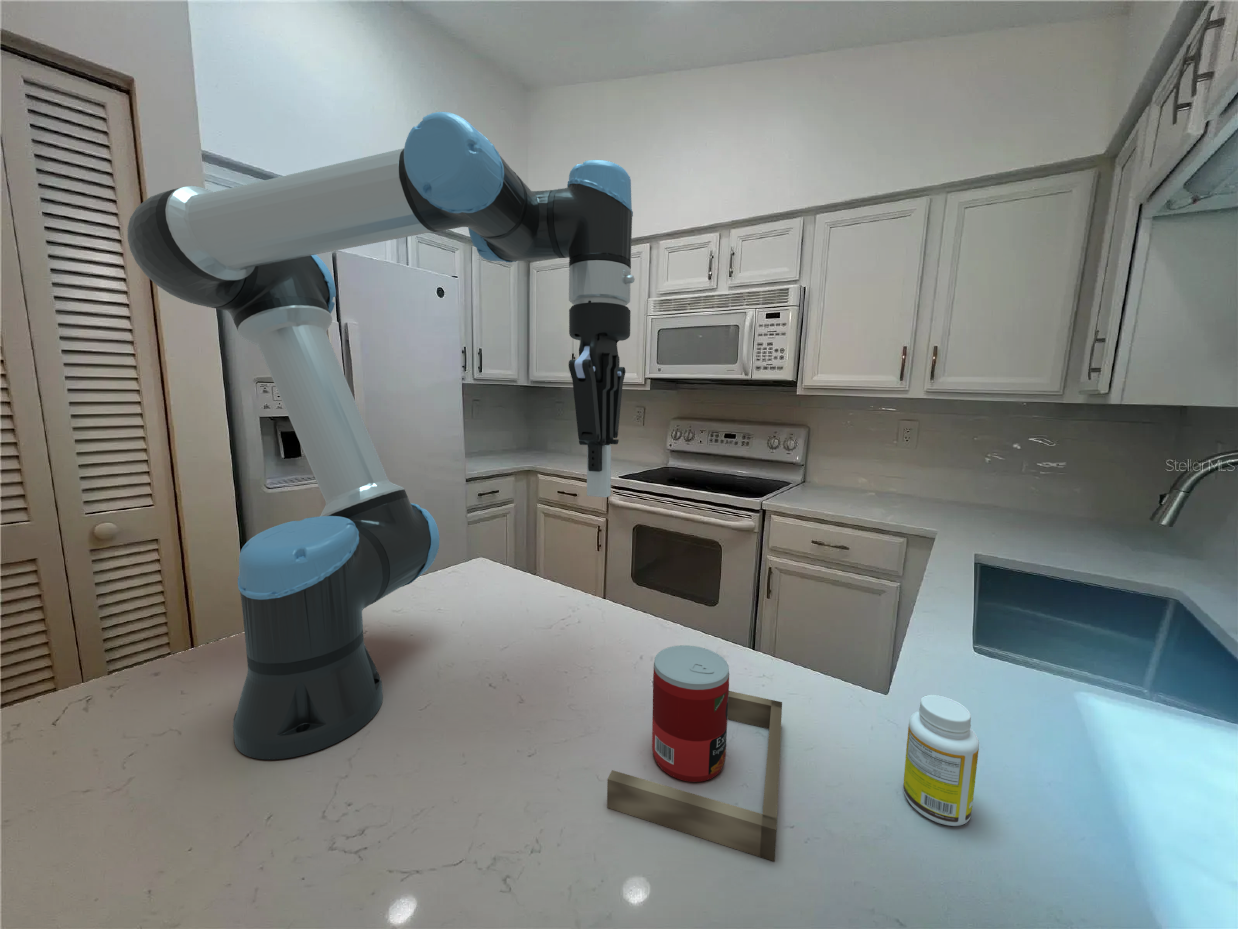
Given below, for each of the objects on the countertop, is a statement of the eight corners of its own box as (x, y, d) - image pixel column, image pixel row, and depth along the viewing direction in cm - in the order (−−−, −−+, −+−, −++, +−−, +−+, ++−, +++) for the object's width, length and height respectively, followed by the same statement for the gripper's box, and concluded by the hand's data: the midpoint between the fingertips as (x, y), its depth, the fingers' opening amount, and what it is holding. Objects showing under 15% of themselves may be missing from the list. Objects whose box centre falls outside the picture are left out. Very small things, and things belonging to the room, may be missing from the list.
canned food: (726, 790, 48) (731, 688, 46) (647, 778, 49) (649, 678, 48) (724, 738, 55) (728, 648, 54) (655, 728, 57) (657, 641, 55)
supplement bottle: (940, 780, 49) (950, 688, 48) (986, 827, 44) (998, 725, 42) (889, 783, 49) (898, 690, 47) (929, 832, 43) (940, 728, 42)
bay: (607, 807, 45) (607, 779, 45) (658, 697, 63) (659, 675, 62) (774, 861, 40) (776, 829, 40) (780, 725, 57) (782, 702, 57)
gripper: (609, 292, 51) (607, 508, 54) (644, 313, 63) (641, 489, 66) (546, 296, 54) (548, 502, 57) (592, 316, 66) (592, 485, 69)
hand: (598, 495), depth 61 cm, fingers closed
